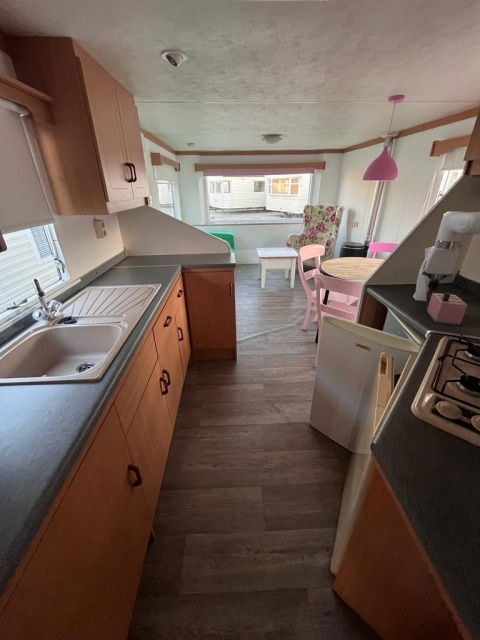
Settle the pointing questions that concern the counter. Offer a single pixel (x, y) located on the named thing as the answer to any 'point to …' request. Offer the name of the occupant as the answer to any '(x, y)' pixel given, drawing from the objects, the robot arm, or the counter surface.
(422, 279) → the skyscraper
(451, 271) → the robot arm
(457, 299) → the toaster
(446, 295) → the slider
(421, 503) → the counter surface
